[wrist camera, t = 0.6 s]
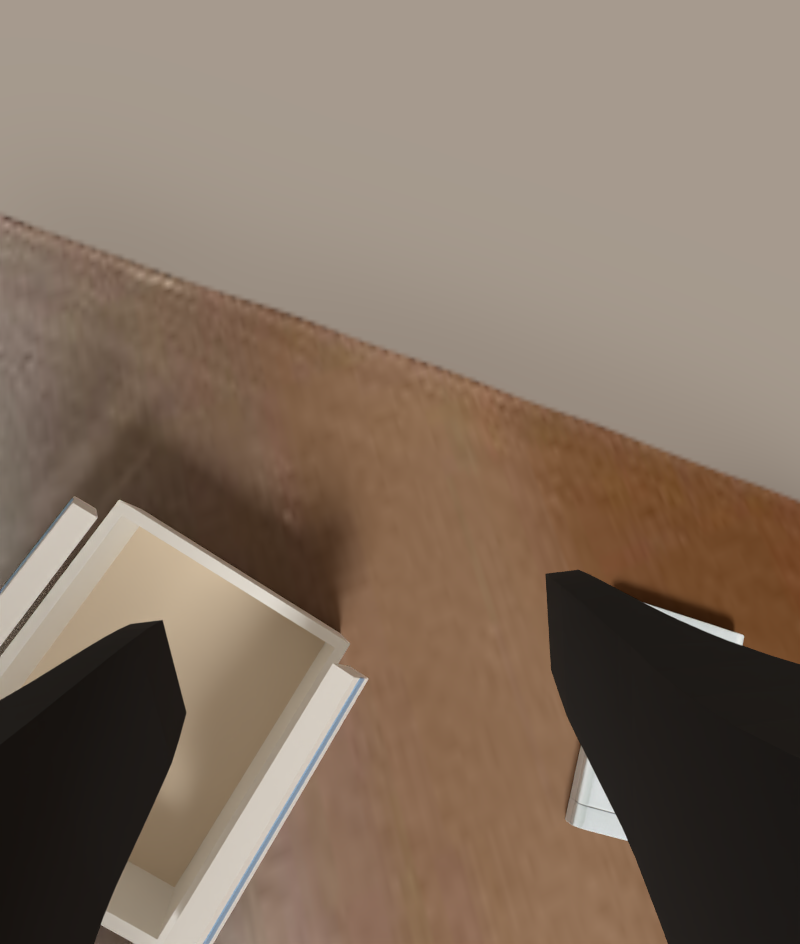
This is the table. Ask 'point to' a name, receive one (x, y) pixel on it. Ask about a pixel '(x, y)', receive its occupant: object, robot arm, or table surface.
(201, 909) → the flap
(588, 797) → the hard drive
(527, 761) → the table surface
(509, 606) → the table surface
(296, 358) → the table surface
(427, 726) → the table surface
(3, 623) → the flap
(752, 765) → the robot arm
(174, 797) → the carton
